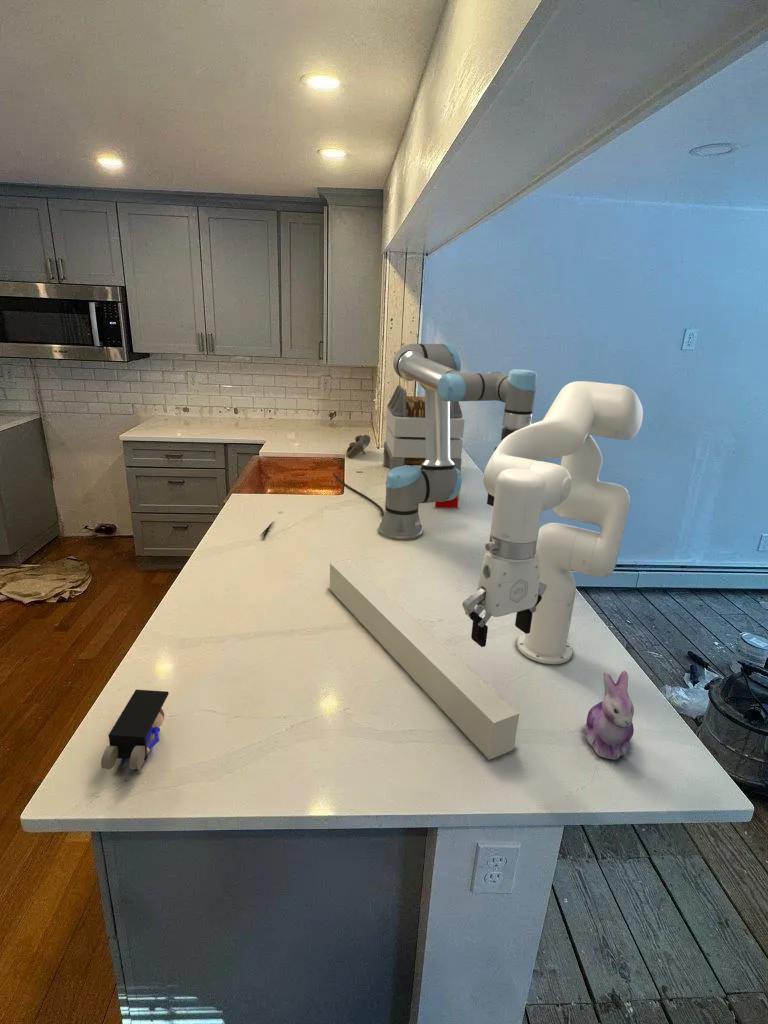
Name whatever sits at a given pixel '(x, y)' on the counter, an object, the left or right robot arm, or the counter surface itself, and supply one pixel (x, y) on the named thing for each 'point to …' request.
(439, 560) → the counter surface
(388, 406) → the grey slatted crate
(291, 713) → the counter surface
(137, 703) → the figurine character
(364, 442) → the fossil
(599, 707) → the figurine
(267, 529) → the feather
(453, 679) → the bar
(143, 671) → the counter surface
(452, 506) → the red striped box
